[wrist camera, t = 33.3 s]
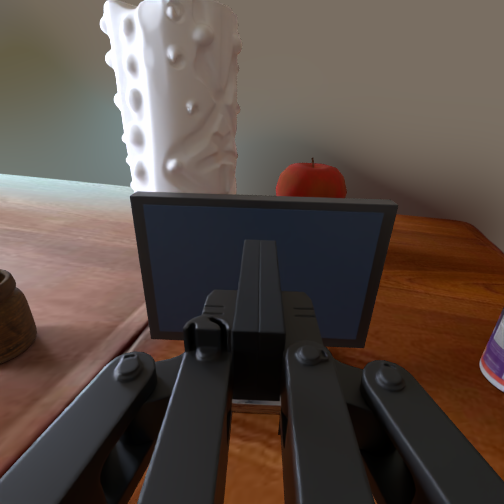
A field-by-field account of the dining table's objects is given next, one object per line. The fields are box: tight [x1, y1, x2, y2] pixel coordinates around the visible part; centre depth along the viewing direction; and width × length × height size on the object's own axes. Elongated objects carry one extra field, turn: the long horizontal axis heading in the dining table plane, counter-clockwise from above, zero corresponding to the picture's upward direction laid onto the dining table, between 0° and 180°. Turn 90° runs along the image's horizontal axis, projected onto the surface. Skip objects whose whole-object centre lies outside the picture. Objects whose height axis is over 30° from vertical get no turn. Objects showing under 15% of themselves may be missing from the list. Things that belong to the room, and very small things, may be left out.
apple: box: [276, 158, 347, 198], centre depth 53 cm, size 12×12×14 cm
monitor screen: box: [130, 191, 398, 348], centre depth 21 cm, size 1×16×11 cm, turn 88°
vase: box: [100, 0, 242, 195], centre depth 45 cm, size 17×16×32 cm
